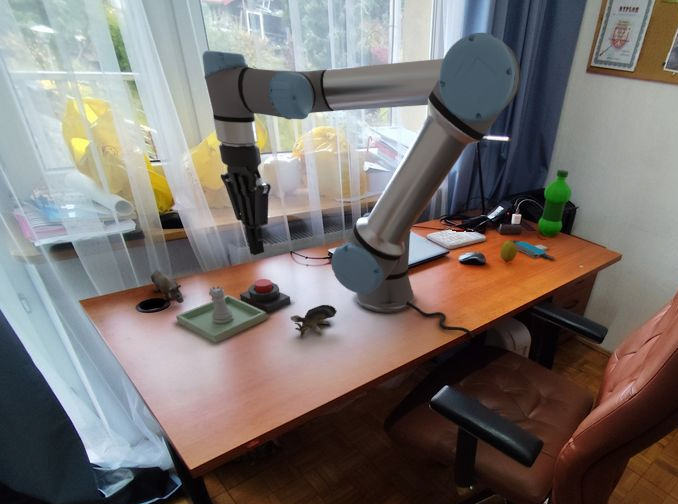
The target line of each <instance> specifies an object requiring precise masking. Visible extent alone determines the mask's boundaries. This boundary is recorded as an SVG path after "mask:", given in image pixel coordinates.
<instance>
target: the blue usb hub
mask: <svg viewBox="0 0 678 504" xmlns="http://www.w3.org/2000/svg"><path fill="white" fill-rule="evenodd" d="M512 242H514V243H515V245H516V247H517V251H519V252H521V253H523V254H525V255H527V256H529V257H531V258H533V259H536V258H542V259H544V260H550V261H554V256H550V255H549V254H547V253H548V252H547V251H546V250H548V249H549V247H547V246H545V245H544V244H537V245H533V244H531V243H528V242H527V241H520V240H517V239H512Z"/></svg>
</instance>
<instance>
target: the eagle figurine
mask: <svg viewBox="0 0 678 504" xmlns="http://www.w3.org/2000/svg"><path fill="white" fill-rule="evenodd" d="M337 311H338V310H337V309H336V308H335V307H334V306H332V305H329V304H321V305H318V306H316V307H315V306H314V307H313V308H310V309H308V310H307V312H306V313H305V316H304V317H302V316H300V315H298V314H297V315H293V316H290V320H291V321H292V322H294V325H297V327H295V328H294V329H295V330H297V331H299V332H300V338H302V337H303V336H305V334H306V332H307V330H310V329H311V330H314V331H316V332H317V333H319V334H320V335H322V334H323V333H322V329H321V328H320V327H319V326H318V324H319V325H321V324H323V325H331V323H330V321H328V320H327V319H331V318H335V316H336V314H337Z"/></svg>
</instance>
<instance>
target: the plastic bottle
mask: <svg viewBox="0 0 678 504" xmlns="http://www.w3.org/2000/svg"><path fill="white" fill-rule="evenodd" d="M555 176H556V179H555V180H554V181H552V182H550V183H549V184H548V185H546V187H545V188H544V194H543V196H544V199H545V202H544V207H543V212H542V215H541V217H540V218H539V220H538V224H537V225H538V229H539V231H540V232H541V234H542V235H544V236H546V237H553V236H555V235H556V234H558V233H560V231H561V230H562V228H563V222H562V218H563V214H564V211H565V207H566V203H568V202H569V201H570V199H571V197H572V190H571V188H570V186H569V184H568V183H567V182H566V179H567V178H568V176H569V171H568V170H564V169H557V171H556V175H555Z"/></svg>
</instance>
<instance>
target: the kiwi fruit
mask: <svg viewBox="0 0 678 504" xmlns="http://www.w3.org/2000/svg"><path fill="white" fill-rule="evenodd" d="M517 252H518V250H517V247H516V245H515V243H514V242H513V240H507V241H505V242H504V243H502V245H501V247H500V253H499V254H500V255H499V256H500V258H501V259H502V260H503V261H504V262H505V263H506V264H508V263H509V262H512V261H513V260H514V259H516V256H517Z"/></svg>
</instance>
